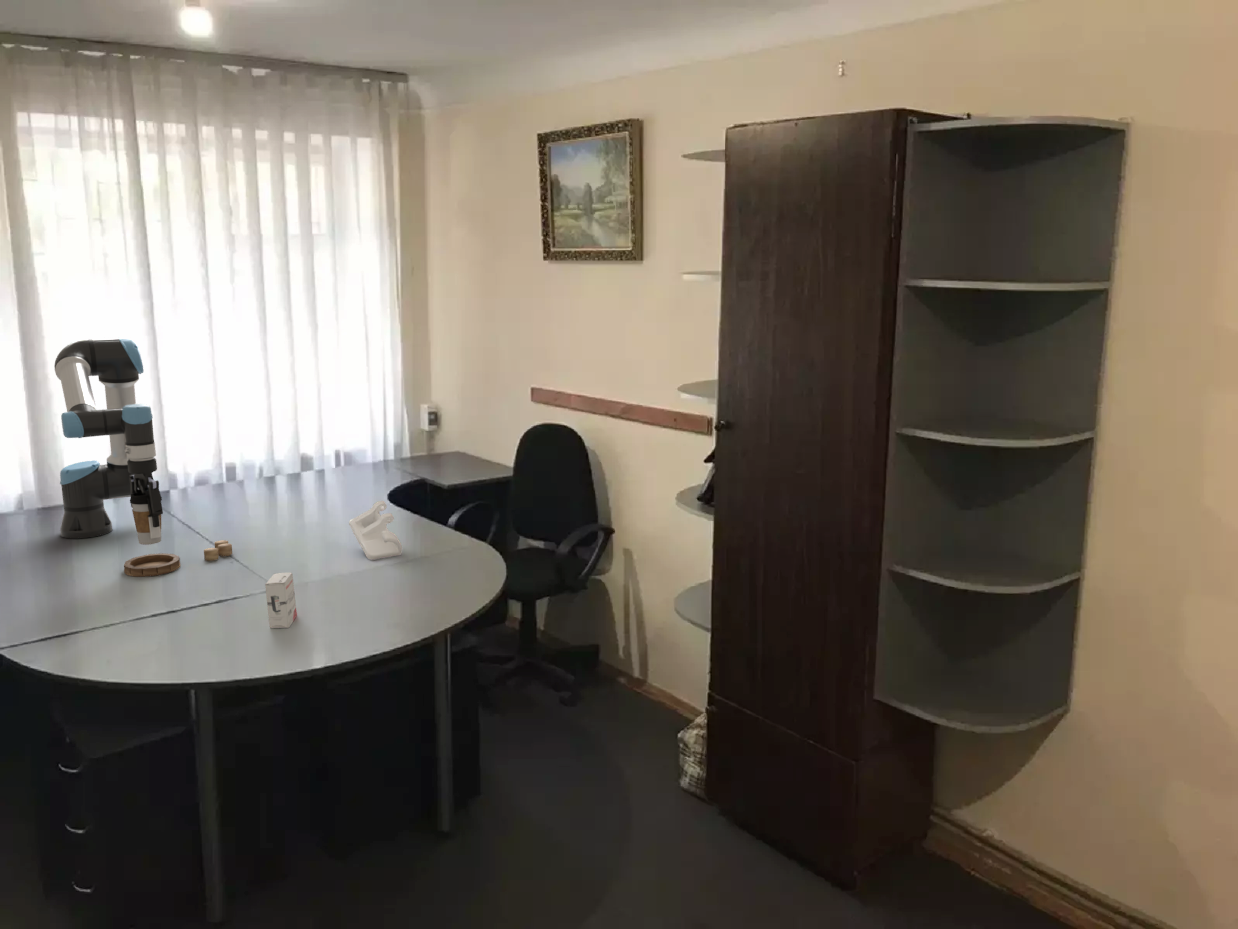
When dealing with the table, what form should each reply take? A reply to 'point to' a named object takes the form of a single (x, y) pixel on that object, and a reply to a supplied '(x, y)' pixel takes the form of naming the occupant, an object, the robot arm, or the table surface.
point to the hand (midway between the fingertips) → (149, 534)
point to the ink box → (281, 600)
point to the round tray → (152, 565)
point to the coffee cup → (143, 518)
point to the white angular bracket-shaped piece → (376, 533)
